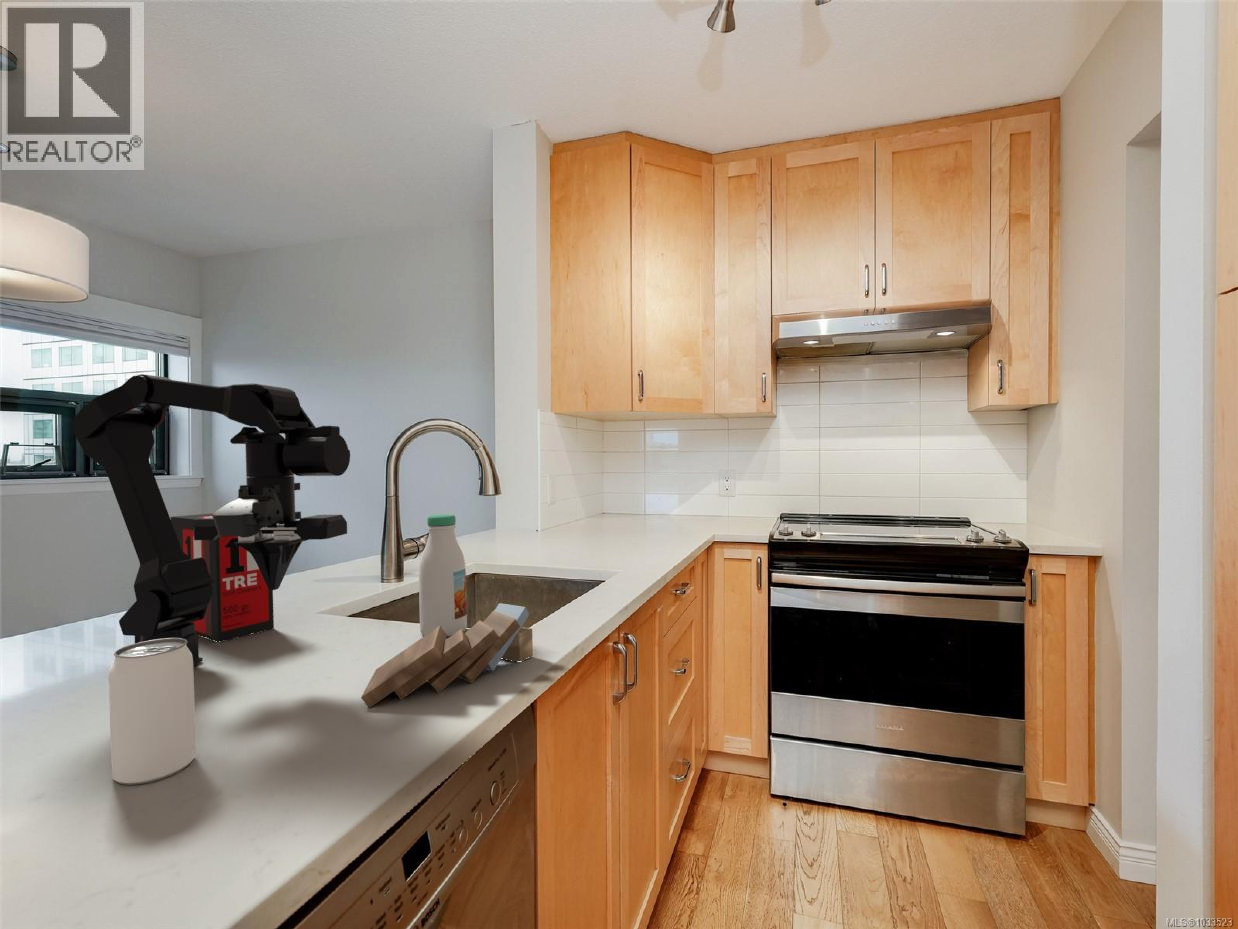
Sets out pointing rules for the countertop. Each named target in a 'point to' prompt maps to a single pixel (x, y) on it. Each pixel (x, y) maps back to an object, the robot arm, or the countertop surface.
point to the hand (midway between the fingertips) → (273, 589)
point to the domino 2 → (437, 663)
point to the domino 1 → (404, 666)
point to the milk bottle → (442, 579)
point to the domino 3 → (466, 654)
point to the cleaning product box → (228, 584)
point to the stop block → (520, 646)
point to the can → (151, 710)
